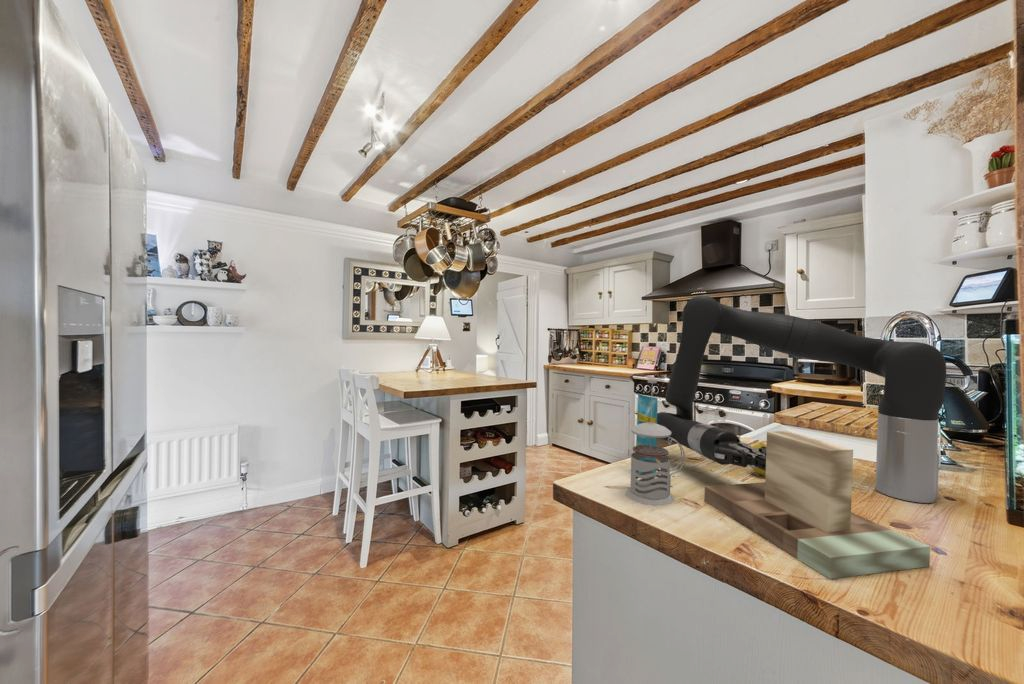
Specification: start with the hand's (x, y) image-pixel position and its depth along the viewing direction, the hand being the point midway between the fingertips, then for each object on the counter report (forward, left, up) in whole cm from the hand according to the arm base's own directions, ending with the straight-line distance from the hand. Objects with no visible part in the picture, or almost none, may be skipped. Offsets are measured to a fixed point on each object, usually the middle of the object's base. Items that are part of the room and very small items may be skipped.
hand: (776, 467), depth 74 cm
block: (0, +6, -6) cm, 9 cm away
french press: (+18, -12, -9) cm, 23 cm away
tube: (+13, -24, -9) cm, 29 cm away
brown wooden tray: (0, +5, -9) cm, 10 cm away
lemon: (-15, -19, -9) cm, 26 cm away
